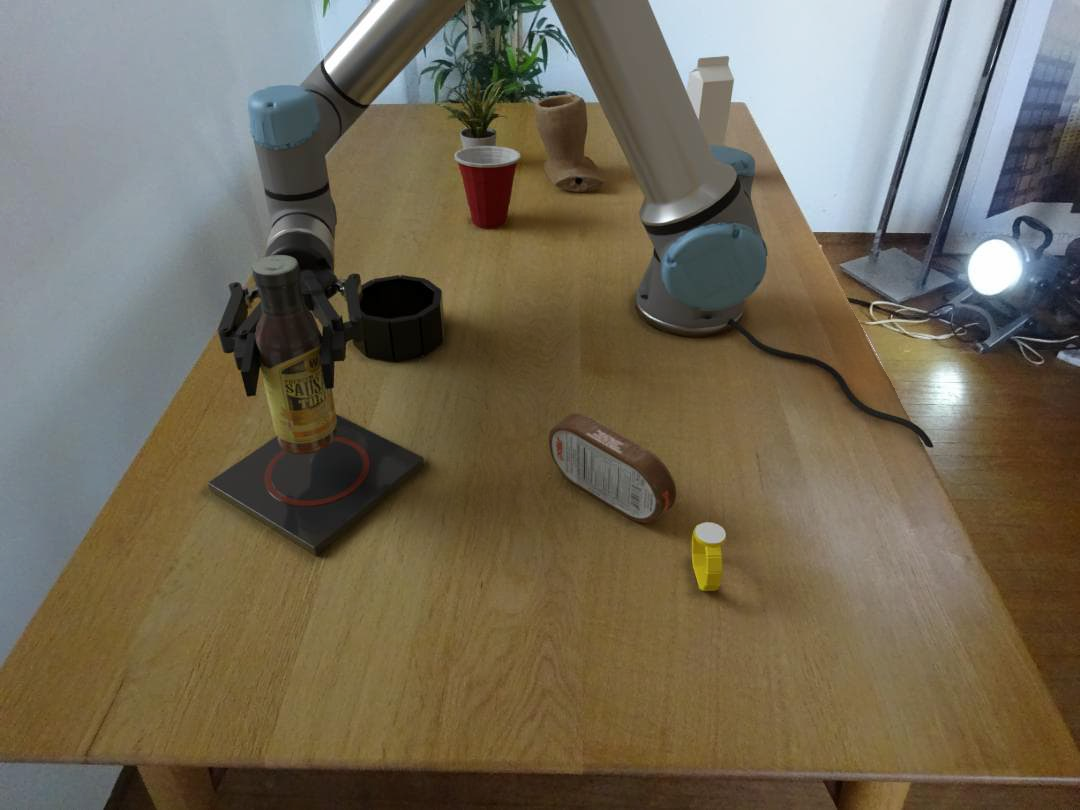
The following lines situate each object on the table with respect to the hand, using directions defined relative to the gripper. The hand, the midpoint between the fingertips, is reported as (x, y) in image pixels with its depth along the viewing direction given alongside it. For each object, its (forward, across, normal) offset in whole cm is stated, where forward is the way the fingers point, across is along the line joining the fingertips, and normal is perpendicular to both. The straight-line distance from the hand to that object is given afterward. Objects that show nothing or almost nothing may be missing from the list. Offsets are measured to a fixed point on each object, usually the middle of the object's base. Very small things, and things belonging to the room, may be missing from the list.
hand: (288, 380), depth 73 cm
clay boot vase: (-81, -44, -17) cm, 94 cm away
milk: (-78, -69, -17) cm, 105 cm away
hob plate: (-5, 0, -17) cm, 17 cm away
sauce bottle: (-5, 0, -11) cm, 12 cm away
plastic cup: (-66, -27, -17) cm, 73 cm away
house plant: (-93, -29, -17) cm, 99 cm away
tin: (+3, -30, -17) cm, 34 cm away
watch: (+15, -36, -17) cm, 43 cm away
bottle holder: (-32, -10, -17) cm, 37 cm away
